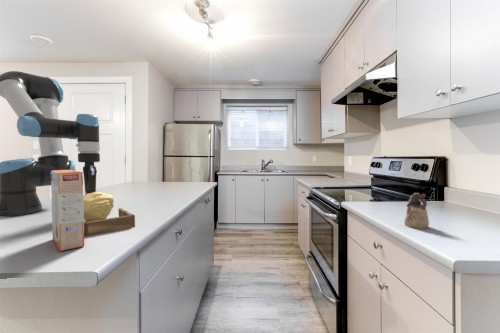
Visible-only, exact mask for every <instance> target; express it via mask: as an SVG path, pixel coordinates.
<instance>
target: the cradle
mask: <svg viewBox="0 0 500 333" xmlns="http://www.w3.org/2000/svg"><path fill="white" fill-rule="evenodd" d="M134 227H136V216H135V214H133V213H131V212H129V211H127V210H126V209H124V208H121V207H120V208H118V216H115V217H109V218H105V219H102V220H96V221H85V220H84V237H87V236H93V235H98V234H104V233H107V232H109V233H110V232H113V231H119V230H123V229H130V228H134Z"/></svg>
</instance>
